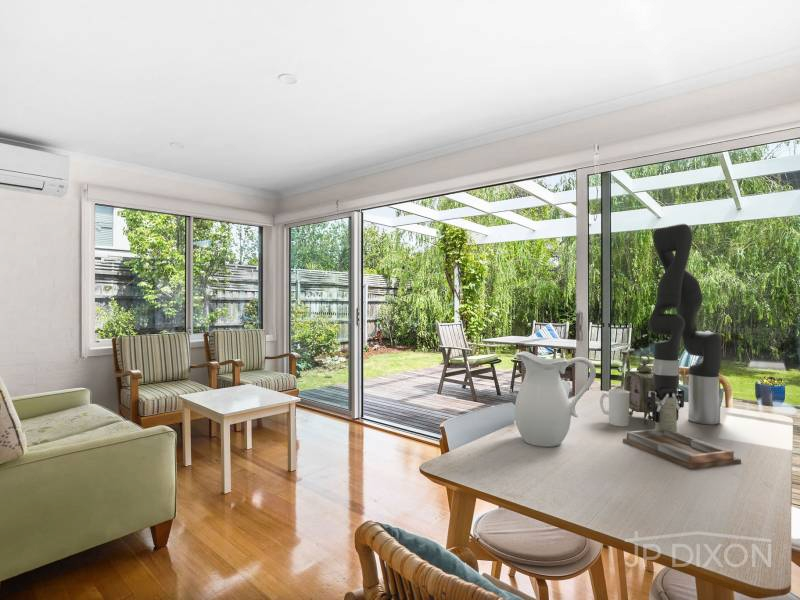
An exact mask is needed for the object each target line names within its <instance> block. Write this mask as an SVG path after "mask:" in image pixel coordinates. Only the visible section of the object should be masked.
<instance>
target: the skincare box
mask: <svg viewBox="0 0 800 600" xmlns="http://www.w3.org/2000/svg"><path fill="white" fill-rule="evenodd" d="M656 401H657V402H661V401H660V399H659V398H658V397H656V398H655V402H656ZM657 405H658V404H655V407H657ZM659 412H660V422H659V423H657V422H654V429H661V428H665V429H668V430H671V431H674V432H677V433H678V431H677V430H678V425H677V423H678V420H677V416H676V398H675V397H674V398H672V397H668V399H666V401H665V403H664V405H663V406H662V407H661V408H660V410H659Z"/></svg>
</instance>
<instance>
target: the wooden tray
mask: <svg viewBox="0 0 800 600" xmlns="http://www.w3.org/2000/svg"><path fill="white" fill-rule="evenodd" d="M622 443H625V444H628V445H630V446H633V447H635V448H637V449H639V450H642V451H645V452H647V453H650V454H652V455H655V456H657V457H659V458H661V459H665V460H667V461H670V462H672V463H674V464H676V465H679V466H682V467H683V468H684V467H685V468H687V469H689V470H698V469H705V468H712V467H719V466H727V465H735V464H741V463H742V459H741V458H739V457H737V456H734V451H733V450H732V449H728V448H724V447H722V446H719V445H715V444H712V443H709V442H706V441H703V440H700V439H698V438H694V437H691V436H689V435H685V434H683V433H680V432H678V431H677V432H674V431H671V430H668V429H665V428H661V429H655V428H653V429H642V430H641V429H640V430H634V431H633V430H632V431H626V438H622Z"/></svg>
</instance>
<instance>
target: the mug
mask: <svg viewBox="0 0 800 600" xmlns="http://www.w3.org/2000/svg"><path fill="white" fill-rule="evenodd" d="M629 393H630V392H629V391H626V390H624V389H618V388H616V389H615V388H614V389H613V388H611V389H608V392H606V391H602V394H601V396H600V399H599V405H600V408H601V411H602V414H603V415H606V416H608V418H609V419H608V421H609V422H608V423H609V424H610V425H611V426H615V427H628V426H629V423H630V422H629V421H630V419H629V417H630V415H629V411H630V408H629ZM606 397H607V398H608V410H607V409H606V407H605V406H604V399H605V398H606Z"/></svg>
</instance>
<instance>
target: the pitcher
mask: <svg viewBox="0 0 800 600" xmlns="http://www.w3.org/2000/svg"><path fill="white" fill-rule="evenodd" d="M515 357H517V358H518V359H519V360H520V361H521V362H522V363H523V365H524V367H525V375H524V378H523V380H522V383H521V385H520V387H519V389H518V390H519V391H518V393H517V395H516V399H515V403H514V421H515V424H516V428H517V430H518V432H519V435H520V436H521V437H522V440H523V441H524V442H526V443H527V444H530V445H531V446H536V447H542V448H543V447H546V448H549V447H557V446H559V445H561V444H562V443H563V441H564V440H565V438H566V437H567V436H568V432H569V430H570V427H571V420H572V419H571V418H572V417H573V418H578V417H579V416H578V415H579V414H578V413H577V411H576V405H577V403H578V401H579V400H580V399H581V398H582V397H583V396H584V395H585V393H586V392H587V391H588V390H589V389H590V387H591V386H592V384H593V383H594V382H595V379H596V375H597V373H596V372H597V370H596V367H595V365H594V363H593V362H592V360H591V359H588V358H587V357H584V356H583V357H582V356H576V357H572V358H570V359H566V358H564V357H556V358H544V357H541V356H538V355H535V354H533V353H531V352H528V351H519V352H517V353H516V354H515ZM575 363H583V364H585V365H586V366H587V367H588V368H589V377H588V379H587V381H586V383H585V384H584V386H583V387H582V388H581V389H580V390H579V392H578V393H577V394H576V395H575V396H574V397H573V399H572V400H571V402H570V400H569V397H568V394H567V391H566V389H565V386H564V384H563V382H562V379H561V375H560V374H563V375H565V373H566V369H567V367H569V366H571V365H572V364H575Z"/></svg>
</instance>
